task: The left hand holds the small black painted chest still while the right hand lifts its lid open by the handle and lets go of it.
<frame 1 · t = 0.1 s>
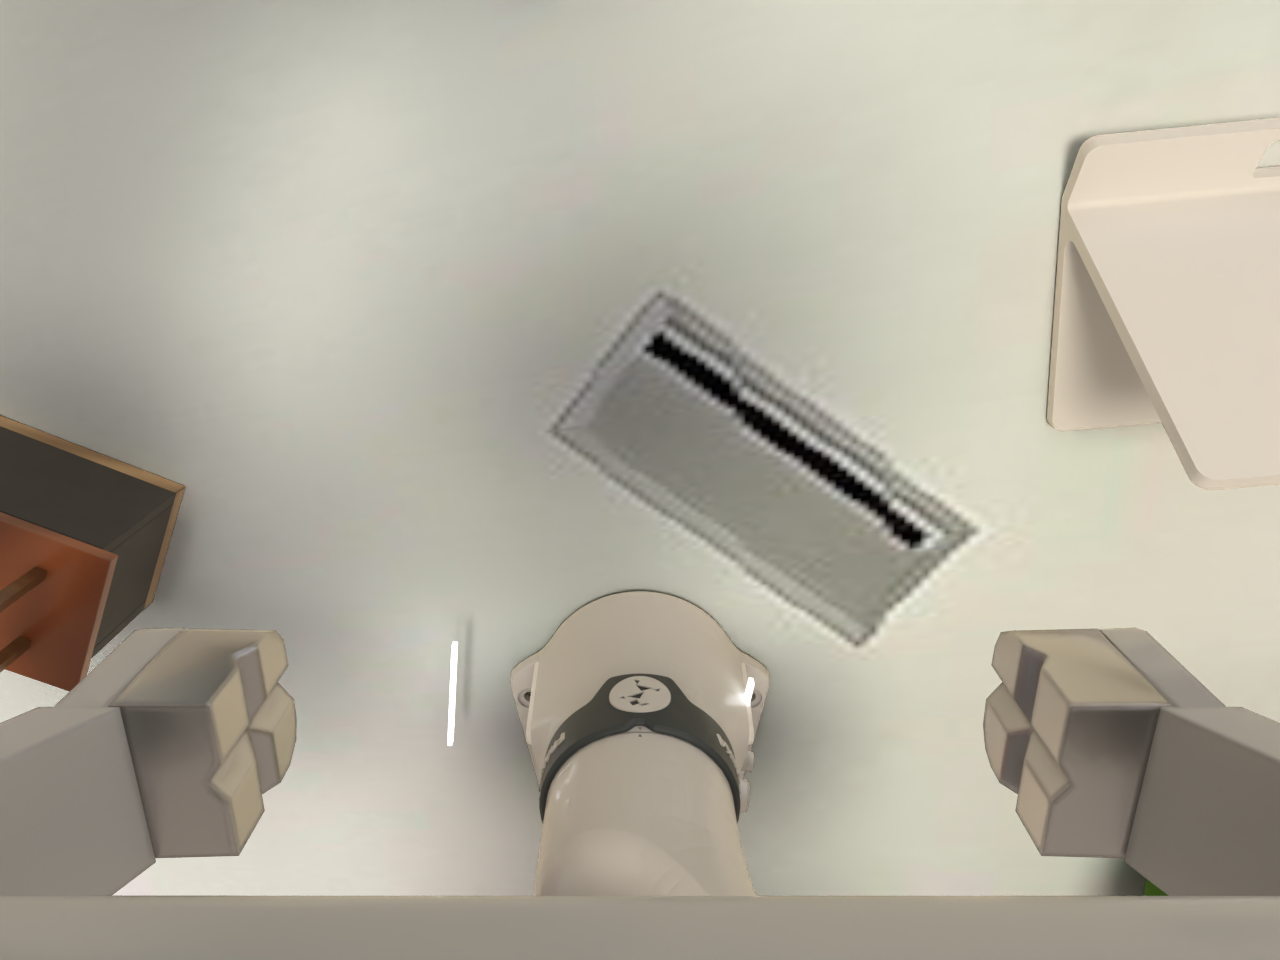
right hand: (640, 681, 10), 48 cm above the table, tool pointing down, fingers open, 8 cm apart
chest: (58, 504, 61), on the table
tablet stand: (1256, 271, 56), on the table
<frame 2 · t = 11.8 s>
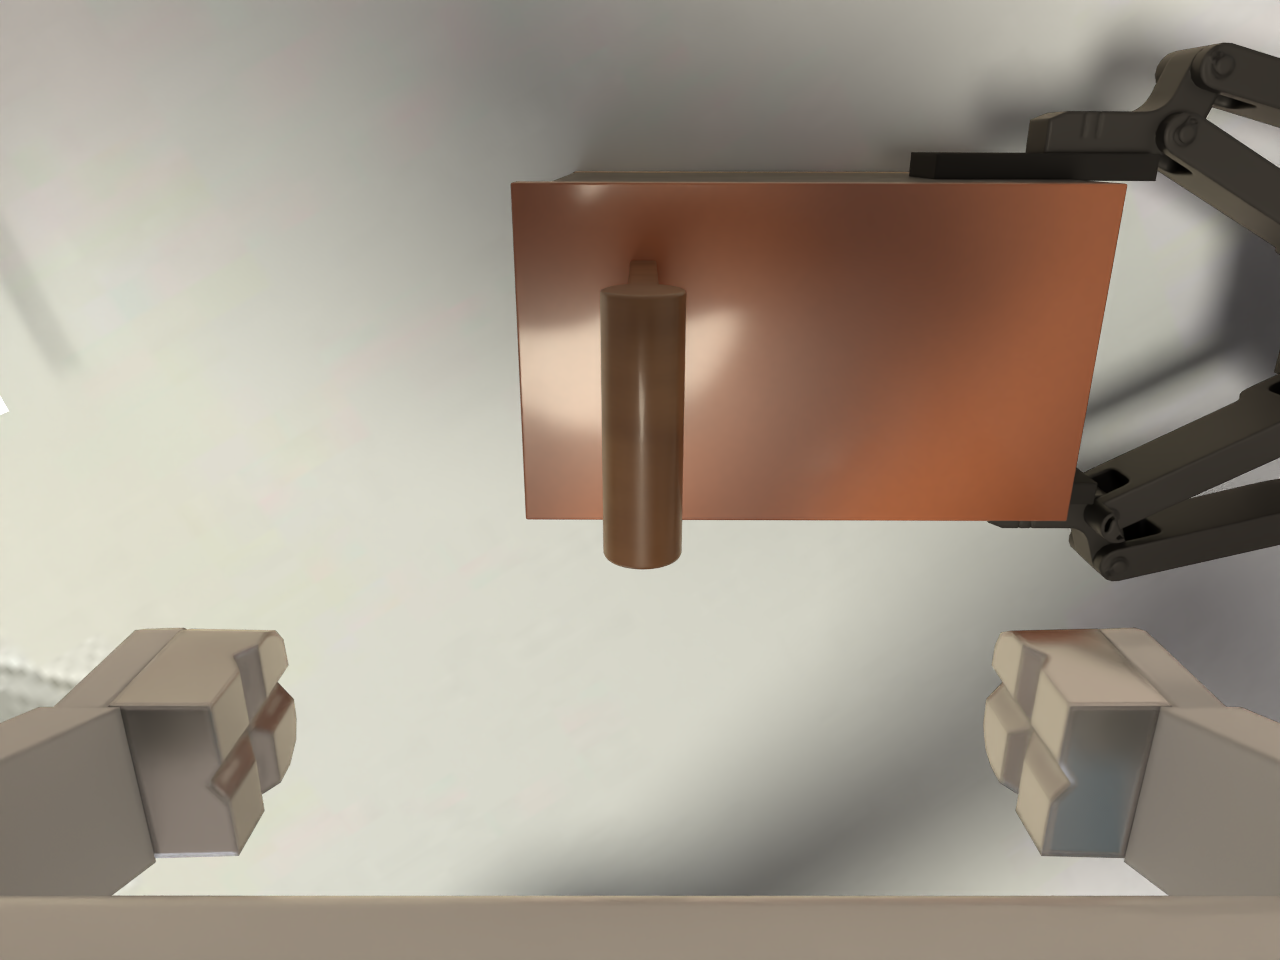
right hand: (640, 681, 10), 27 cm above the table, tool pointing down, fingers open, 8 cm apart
left hand: (904, 332, 29), fingers closed on chest, 9 cm apart
chest: (771, 300, 35), on the table, touching left hand
lid: (828, 391, 22), point 14 cm above the table, hinge at 0.0°
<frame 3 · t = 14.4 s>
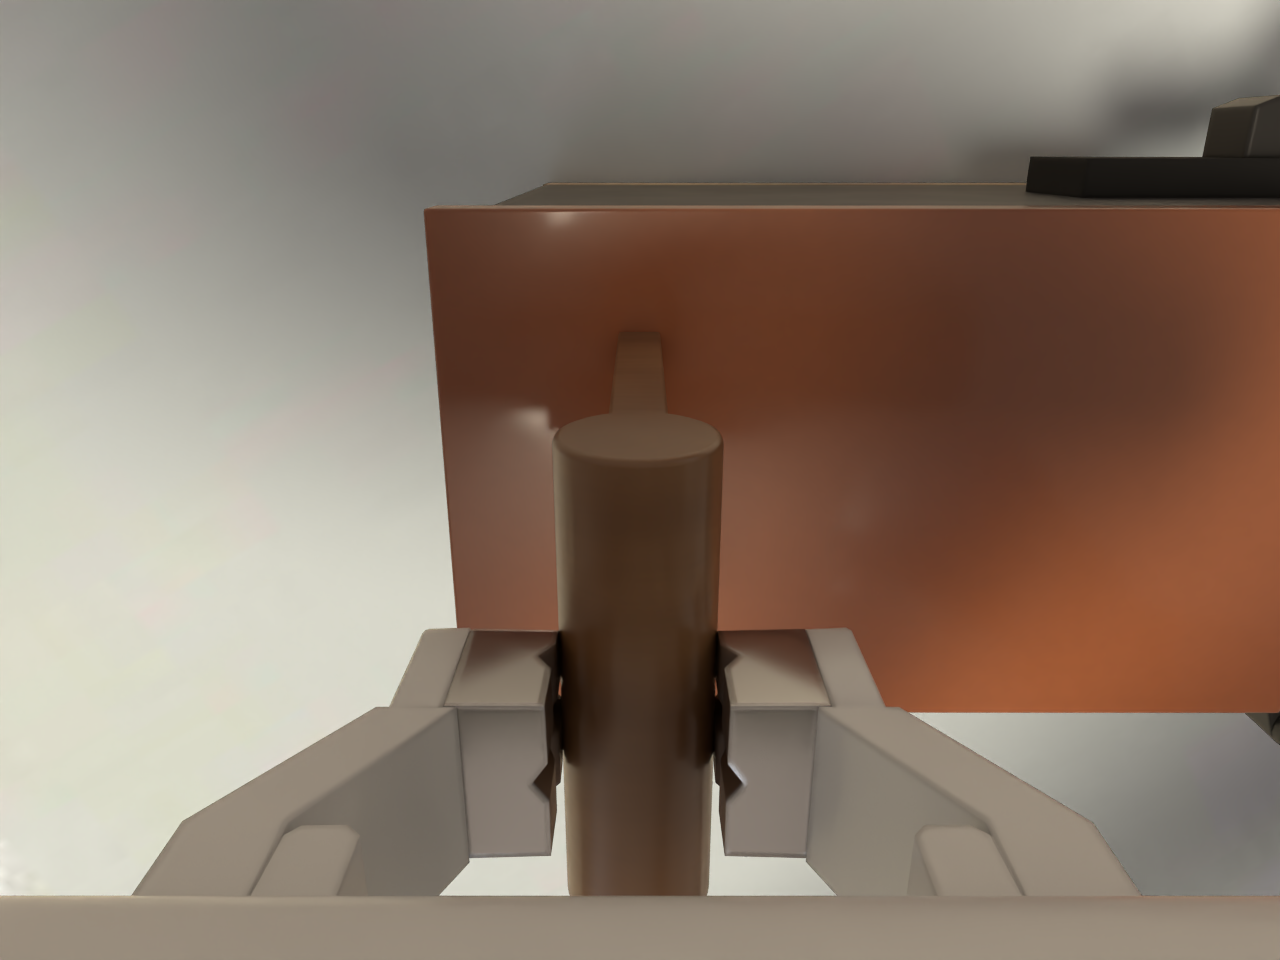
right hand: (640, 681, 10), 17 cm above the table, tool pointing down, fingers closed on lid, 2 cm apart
chest: (812, 354, 26), on the table, touching left hand
lid: (952, 563, 13), point 14 cm above the table, hinge at -0.1°, touching right hand
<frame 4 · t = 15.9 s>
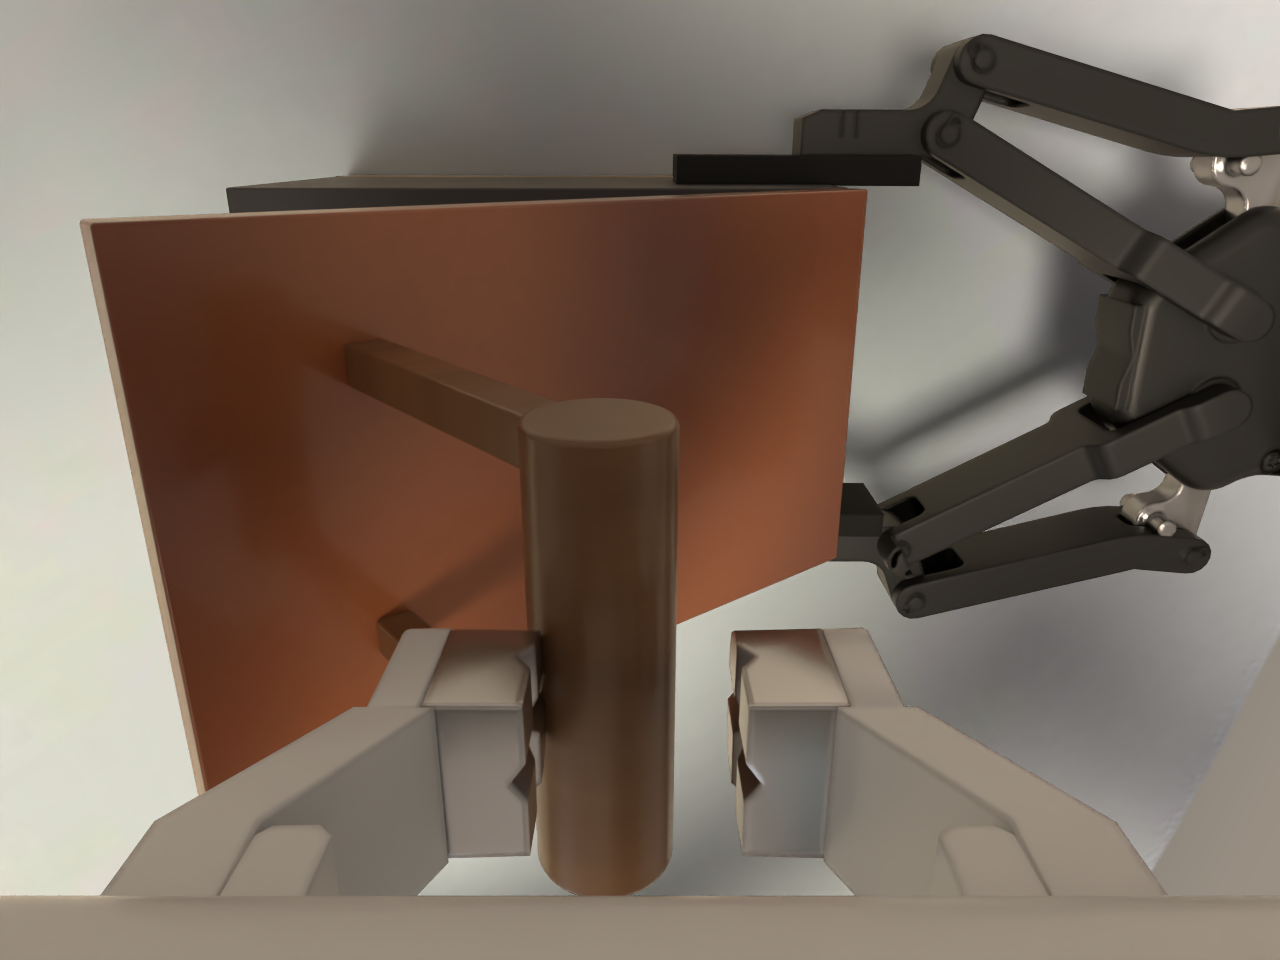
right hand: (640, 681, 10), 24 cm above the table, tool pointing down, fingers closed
left hand: (671, 350, 27), fingers closed on chest, 10 cm apart
chest: (569, 313, 33), on the table, touching left hand
lid: (704, 494, 16), point 18 cm above the table, hinge at 38.8°, touching right hand
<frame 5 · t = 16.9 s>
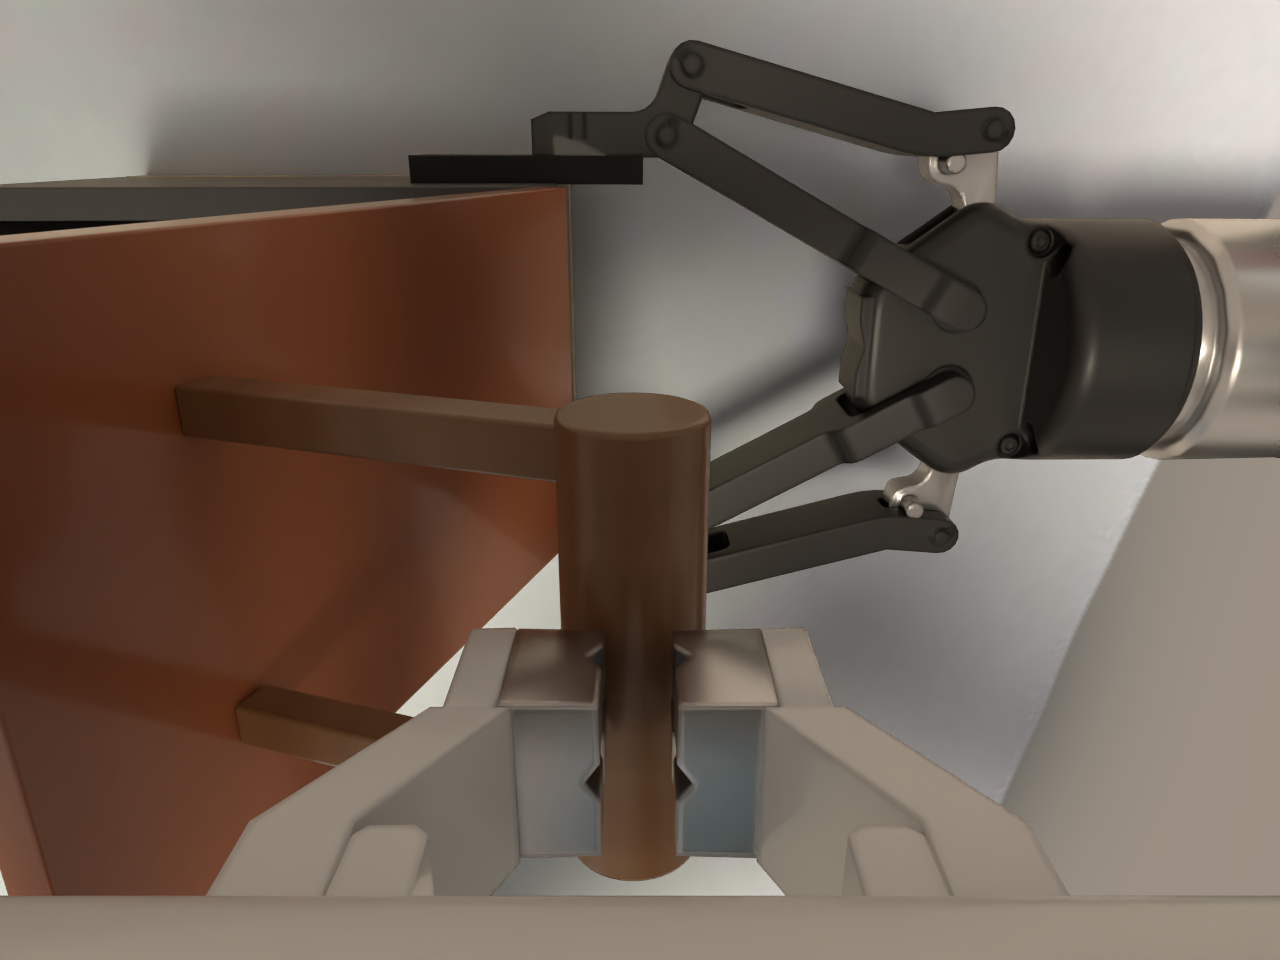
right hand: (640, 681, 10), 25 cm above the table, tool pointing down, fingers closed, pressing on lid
left hand: (433, 342, 28), fingers closed on chest, 10 cm apart
chest: (372, 308, 34), on the table, touching left hand
lid: (555, 487, 16), point 19 cm above the table, hinge at 69.3°, touching right hand
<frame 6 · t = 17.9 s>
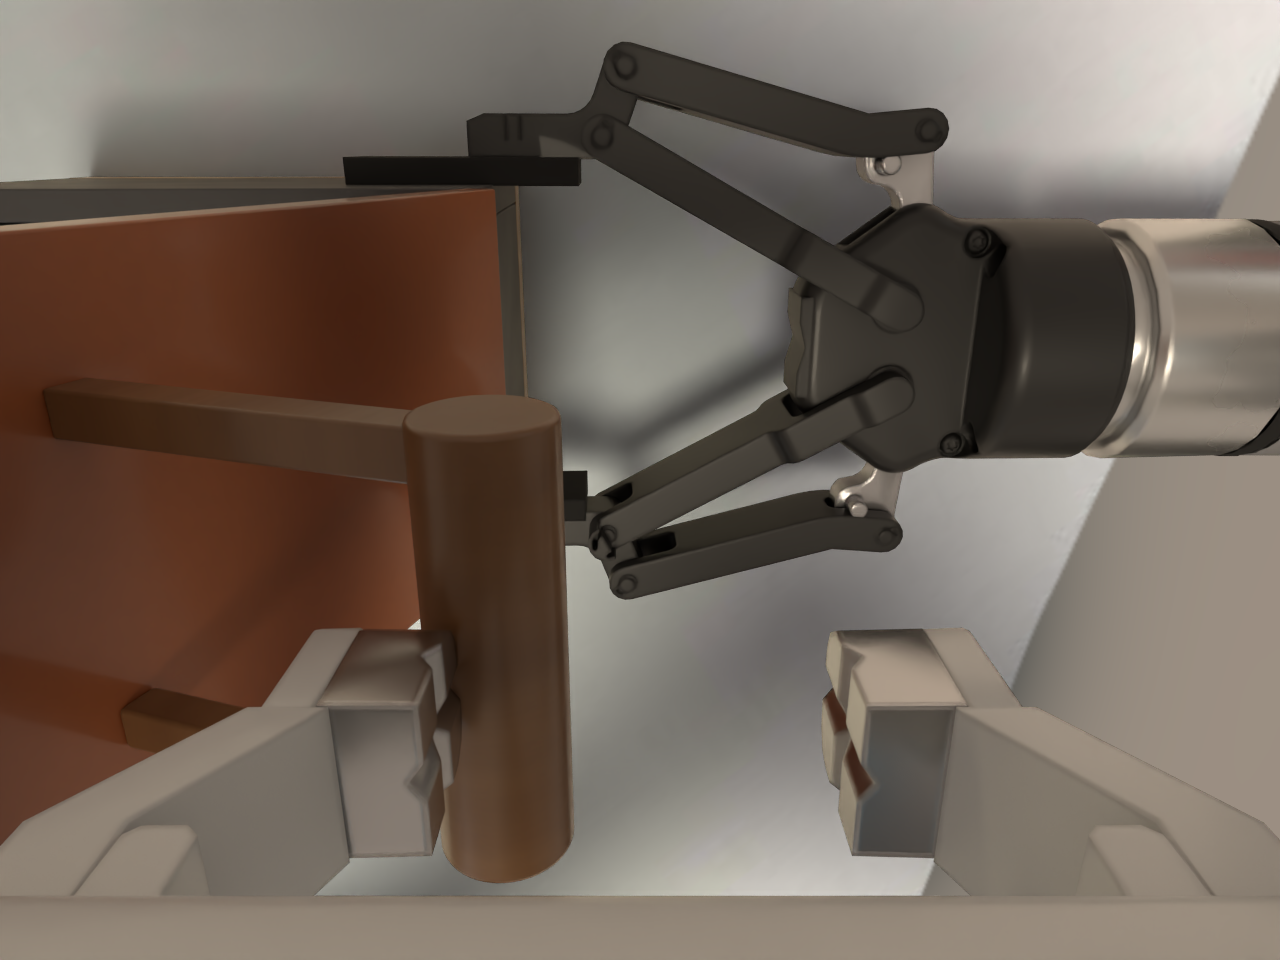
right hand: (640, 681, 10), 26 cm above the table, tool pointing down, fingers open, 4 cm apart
left hand: (374, 344, 28), fingers closed on chest, 9 cm apart
chest: (321, 310, 34), on the table, touching left hand
lid: (459, 489, 16), point 19 cm above the table, hinge at 69.1°, touching right hand
when the left hand's fingers open (6 cm above the table, at t = 21.4 s): chest stays where it is, on the table.
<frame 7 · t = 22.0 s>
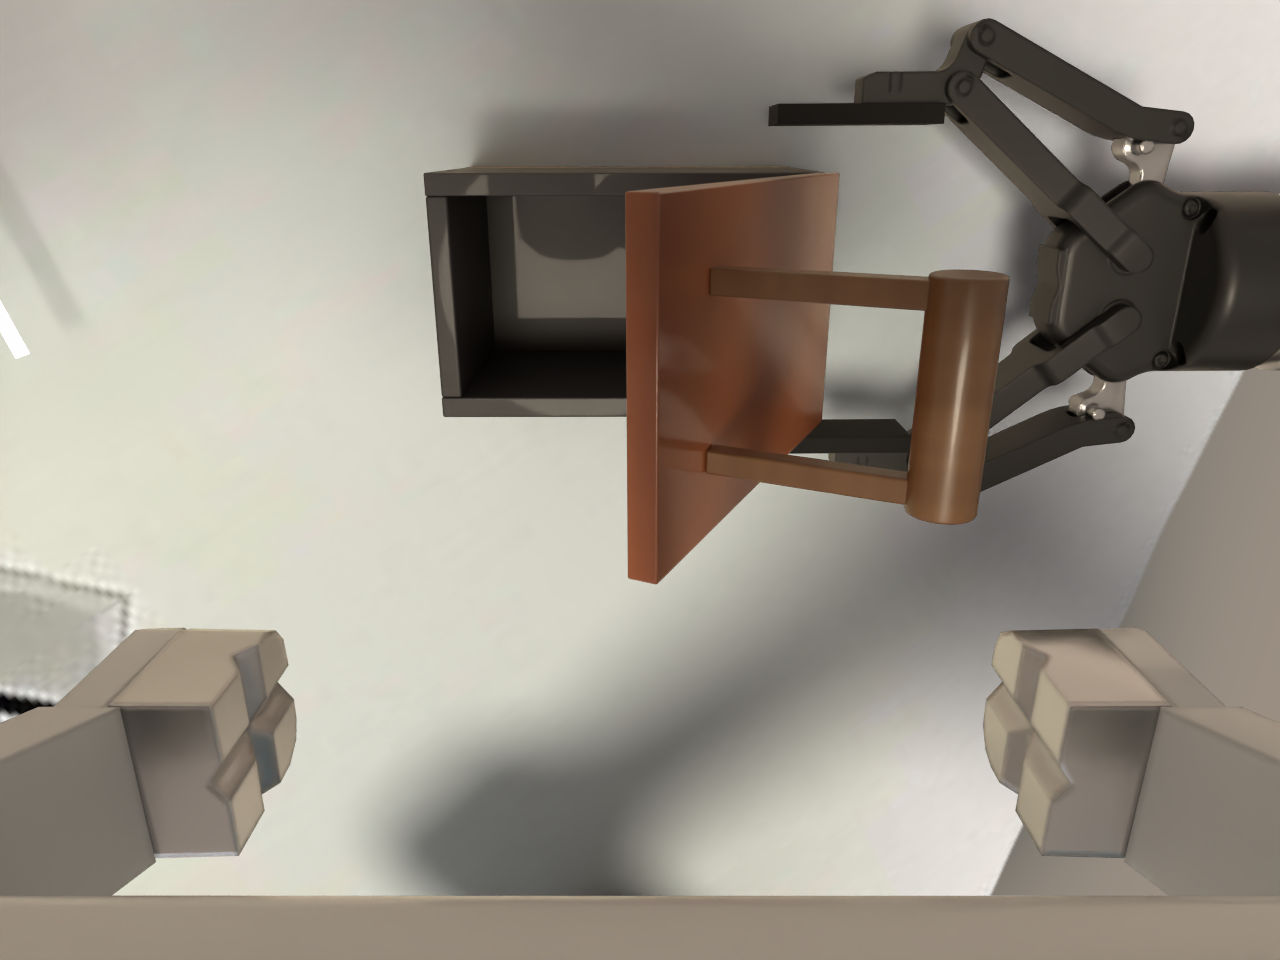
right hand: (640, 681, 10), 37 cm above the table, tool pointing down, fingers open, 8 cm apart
left hand: (764, 285, 39), fingers open, 13 cm apart
chest: (628, 268, 45), on the table
lid: (866, 350, 27), point 19 cm above the table, hinge at 64.4°
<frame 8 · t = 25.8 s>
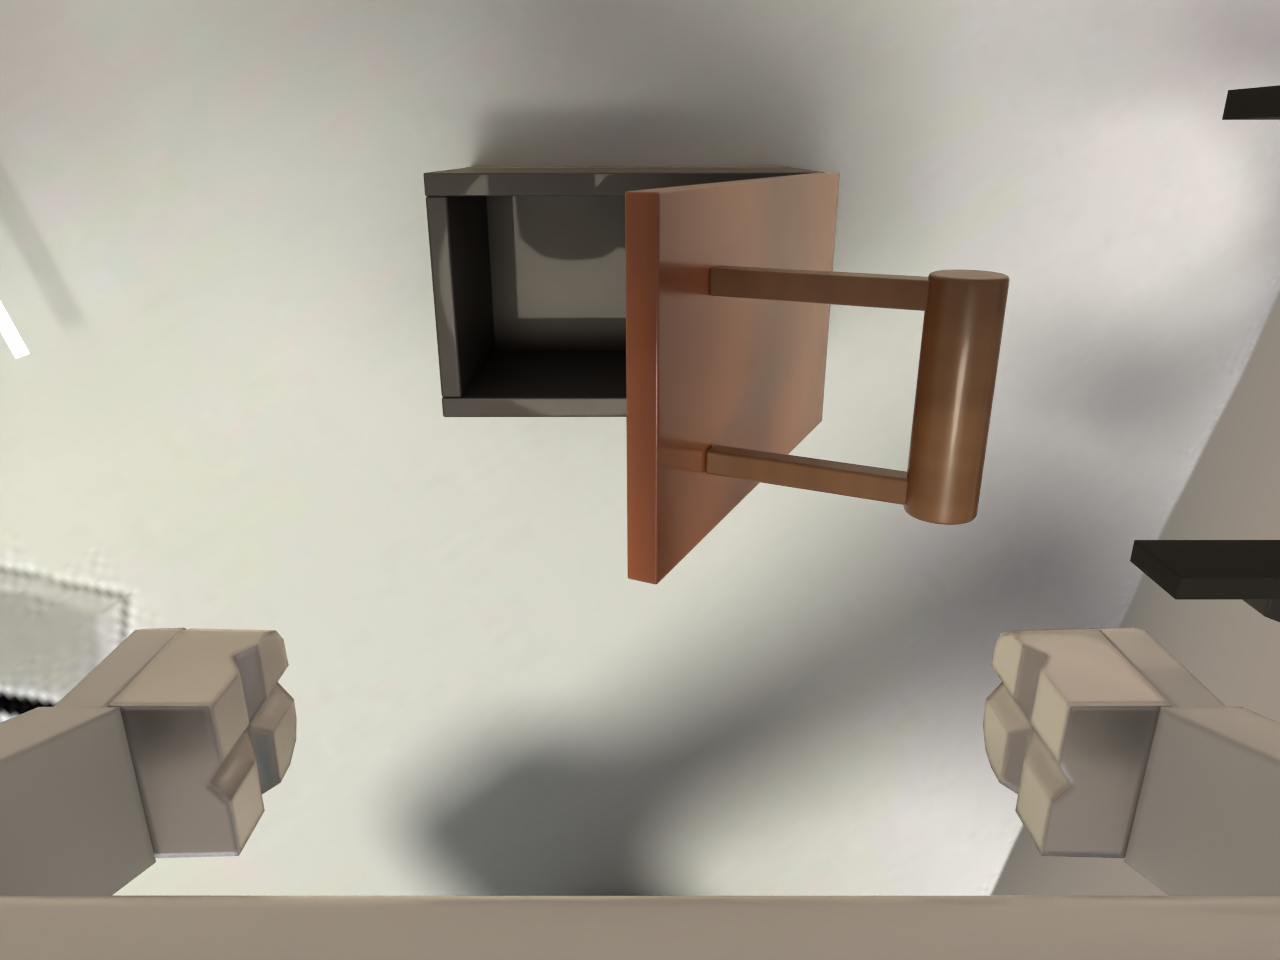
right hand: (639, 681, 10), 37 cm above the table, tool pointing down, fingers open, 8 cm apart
chest: (628, 268, 45), on the table
lid: (865, 350, 27), point 19 cm above the table, hinge at 64.4°
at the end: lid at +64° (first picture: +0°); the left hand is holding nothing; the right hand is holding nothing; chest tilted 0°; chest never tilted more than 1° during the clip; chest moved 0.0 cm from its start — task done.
